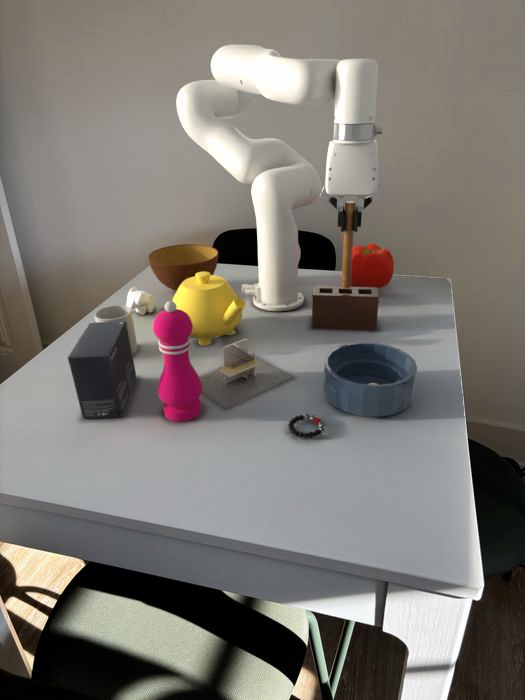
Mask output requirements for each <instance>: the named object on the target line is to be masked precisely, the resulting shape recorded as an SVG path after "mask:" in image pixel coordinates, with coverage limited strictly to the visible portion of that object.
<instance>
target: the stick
mask: <svg viewBox="0 0 525 700" xmlns="http://www.w3.org/2000/svg"><path fill="white" fill-rule="evenodd" d="M355 209H356V202H355V201H354V200H347V201H345V202H344V210H345V229H344V231H343V242H342V244H343V245H342V266H341V267H342V269H341V287H342V288H350V287H351V275H352V256H353V247H354V235H355V231H354V214H355Z"/></svg>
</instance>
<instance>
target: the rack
mask: <svg viewBox="0 0 525 700" xmlns="http://www.w3.org/2000/svg"><path fill="white" fill-rule="evenodd" d="M311 297H312V300H311V301H312V303H311V329H312V330H335V331H336V330H339V331H340V330H341V331H364V332H365V331H366V332H370V331H371V332H377V325H378V315H379V314H378V313H379V303H380V302H379V301H380V294H379V289H378V288H377V287H350V288H342V286H339V285H338V286H336V285H335V286H334V285H331V286H330V285H313V288H312V296H311Z"/></svg>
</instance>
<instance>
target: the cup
mask: <svg viewBox="0 0 525 700" xmlns="http://www.w3.org/2000/svg"><path fill="white" fill-rule="evenodd" d="M131 310H132V309H131V308H129V307H128V306H126V305H123V304H115V305H113V304H112V305H108V306H104V307H101V308H99V309H97V310H95V312H94V314H93V316H94V321H92V322H90V323H95V322H116V321H126V322H127V329H128V335H129V341H130V347H131V352H132V356H133V355H134V354H136V351H137V350H138V344H137V343H138V342H137V337H136V332H135V324H134V318H133V313H132V311H131ZM86 328H87V326H86V327H85V329H86Z"/></svg>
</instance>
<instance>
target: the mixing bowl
mask: <svg viewBox="0 0 525 700" xmlns="http://www.w3.org/2000/svg"><path fill="white" fill-rule="evenodd" d="M323 365H324V367H323V371H324V372H323V395H324V396H325V398H326V400H327V402H329V403H330V404H332V405H333V406H334V407H335V408H337V409H339V410H341V411H344V412H346V413H348V414H353V415H356V416H361V417H375V418H379V417H386V416H387V417H388V416H393V415H395V414H398V413H400V412H403V411H404V410H406V409H407V408H408V407H409V406H411V404H412V401H413V399H414V397H415V395H414V394H415V390H416V389H415V388H416V381H417V373H418V372H417V371H418V366H417V363H416V360H415V359H414V358H413V357H412V356H411V355H410V354H409V353H408V352H405V351H403V350H402V349H400V348H397V347H394V346H392V345H389V344H384V343H378V342H366V341H365V342H364V341H363V342H362V341H361V342H352V343H346V344H343V345H339V346H337V347H334V349H331V350H329V351H328V353H327V354H326V356H325V357H324V364H323ZM370 383H376V384H378V385H372V384H370Z"/></svg>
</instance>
